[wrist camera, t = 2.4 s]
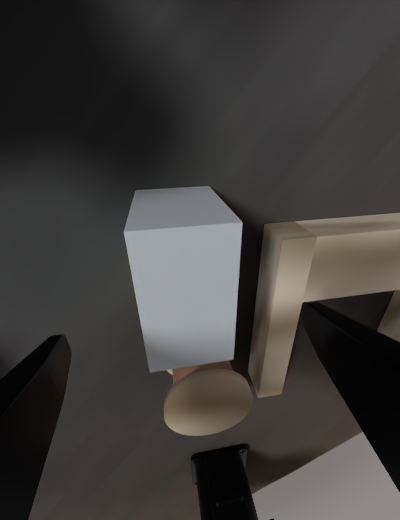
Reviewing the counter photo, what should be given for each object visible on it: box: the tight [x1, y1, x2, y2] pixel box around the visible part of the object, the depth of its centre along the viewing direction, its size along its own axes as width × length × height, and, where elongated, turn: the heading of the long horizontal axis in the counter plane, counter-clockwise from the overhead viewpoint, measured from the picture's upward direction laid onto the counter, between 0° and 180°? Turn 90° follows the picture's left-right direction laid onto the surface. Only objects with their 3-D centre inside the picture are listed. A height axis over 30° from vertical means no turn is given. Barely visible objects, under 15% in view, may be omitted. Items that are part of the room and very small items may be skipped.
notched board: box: [248, 213, 400, 398], centre depth 18 cm, size 14×14×2 cm
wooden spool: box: [164, 360, 253, 436], centre depth 17 cm, size 6×6×5 cm
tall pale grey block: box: [124, 186, 243, 372], centre depth 12 cm, size 7×4×6 cm, turn 1°
